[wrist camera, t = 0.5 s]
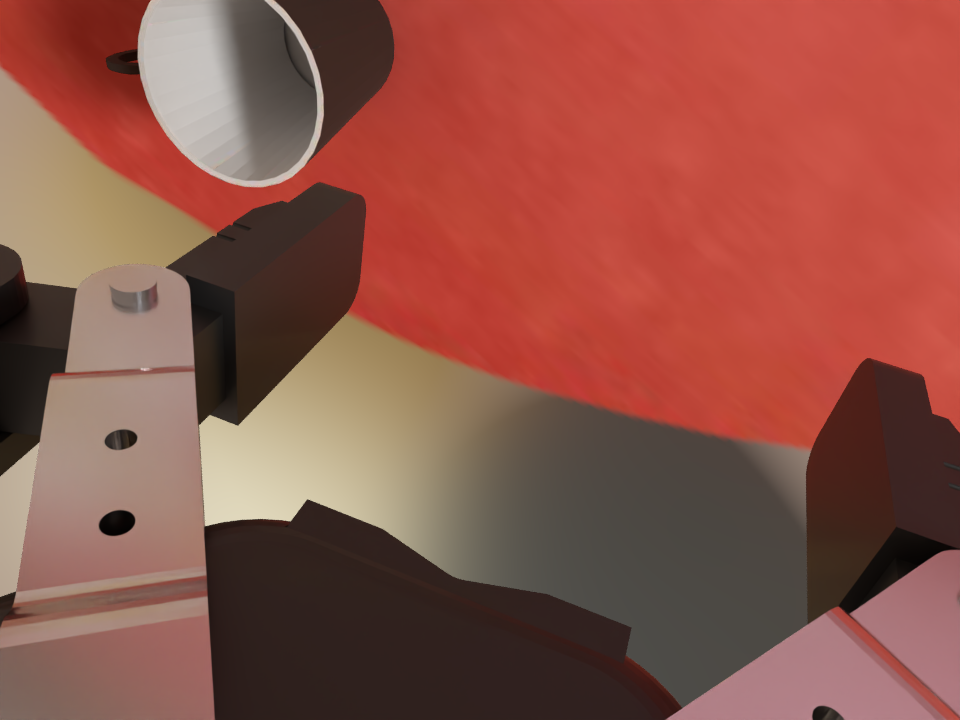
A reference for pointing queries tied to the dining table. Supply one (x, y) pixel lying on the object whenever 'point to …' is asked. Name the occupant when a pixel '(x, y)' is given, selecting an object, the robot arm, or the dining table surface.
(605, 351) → the dining table surface
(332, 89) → the coffee mug
